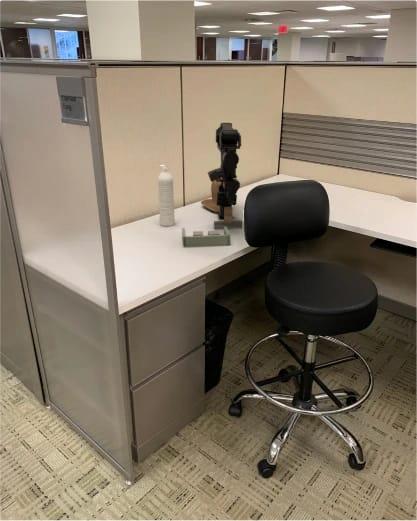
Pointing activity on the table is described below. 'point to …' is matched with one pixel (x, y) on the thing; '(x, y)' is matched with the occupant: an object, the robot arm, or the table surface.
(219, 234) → the stone block
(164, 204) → the white pump bottle
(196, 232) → the stone block
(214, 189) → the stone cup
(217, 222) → the hoe
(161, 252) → the table surface
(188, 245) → the bin
